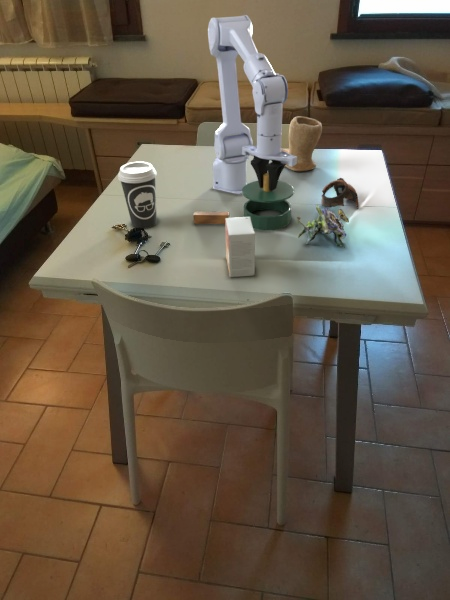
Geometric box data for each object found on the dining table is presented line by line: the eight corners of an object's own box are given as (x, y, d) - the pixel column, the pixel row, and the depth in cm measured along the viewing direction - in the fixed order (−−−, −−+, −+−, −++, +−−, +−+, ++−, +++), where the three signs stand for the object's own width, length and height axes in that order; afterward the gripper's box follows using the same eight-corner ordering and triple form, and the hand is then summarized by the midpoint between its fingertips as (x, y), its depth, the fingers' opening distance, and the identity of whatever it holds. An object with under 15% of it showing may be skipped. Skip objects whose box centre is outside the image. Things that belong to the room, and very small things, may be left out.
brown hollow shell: (363, 215, 126) (353, 193, 121) (329, 227, 130) (318, 206, 125) (358, 186, 134) (348, 164, 128) (326, 199, 138) (315, 178, 132)
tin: (235, 225, 123) (234, 210, 121) (257, 206, 132) (257, 193, 129) (277, 235, 118) (278, 221, 116) (298, 216, 126) (299, 202, 124)
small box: (226, 258, 110) (224, 217, 104) (250, 257, 110) (250, 215, 104) (229, 278, 104) (227, 234, 97) (254, 276, 104) (255, 233, 98)
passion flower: (335, 264, 117) (358, 242, 106) (293, 261, 115) (311, 238, 103) (331, 222, 120) (352, 197, 109) (290, 219, 118) (307, 193, 107)
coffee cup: (168, 216, 128) (162, 162, 119) (152, 233, 121) (145, 176, 112) (136, 212, 131) (128, 158, 122) (119, 228, 124) (109, 172, 115)
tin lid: (233, 190, 123) (232, 170, 120) (277, 180, 127) (277, 161, 124) (257, 209, 114) (257, 189, 111) (303, 198, 118) (305, 178, 115)
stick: (194, 224, 124) (193, 215, 122) (195, 221, 126) (194, 211, 124) (228, 225, 123) (228, 215, 122) (229, 221, 125) (229, 211, 123)
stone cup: (325, 170, 151) (330, 121, 142) (292, 176, 148) (295, 127, 139) (301, 155, 163) (304, 109, 154) (270, 161, 159) (271, 114, 150)
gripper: (305, 133, 110) (301, 189, 118) (254, 123, 118) (253, 176, 126) (288, 142, 106) (285, 199, 114) (236, 131, 113) (237, 185, 121)
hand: (268, 188), depth 119 cm, fingers closed on tin lid, 2 cm apart
